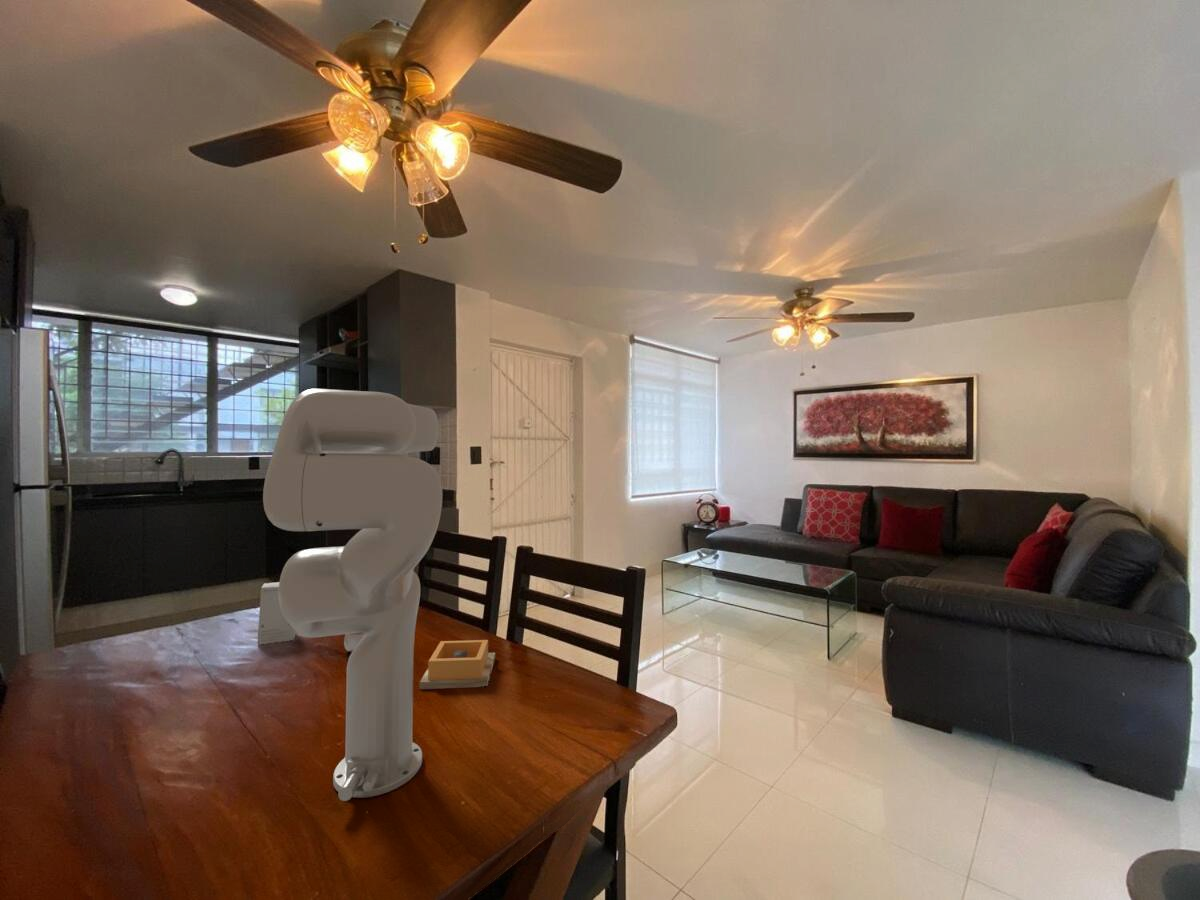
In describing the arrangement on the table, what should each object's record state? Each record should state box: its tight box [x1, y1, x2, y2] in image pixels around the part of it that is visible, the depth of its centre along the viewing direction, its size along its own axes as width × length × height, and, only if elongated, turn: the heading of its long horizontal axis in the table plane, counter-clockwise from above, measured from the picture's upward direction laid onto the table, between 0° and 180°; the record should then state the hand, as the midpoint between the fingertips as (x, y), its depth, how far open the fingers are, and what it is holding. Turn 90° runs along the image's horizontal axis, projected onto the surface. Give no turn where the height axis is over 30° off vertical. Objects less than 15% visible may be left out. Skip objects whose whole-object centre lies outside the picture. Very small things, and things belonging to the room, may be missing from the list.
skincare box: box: [256, 581, 297, 646], centre depth 126 cm, size 8×6×15 cm
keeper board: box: [419, 650, 496, 690], centre depth 107 cm, size 14×14×4 cm
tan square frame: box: [427, 639, 489, 680], centre depth 106 cm, size 11×11×4 cm
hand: (385, 564), depth 92 cm, fingers open, 9 cm apart
